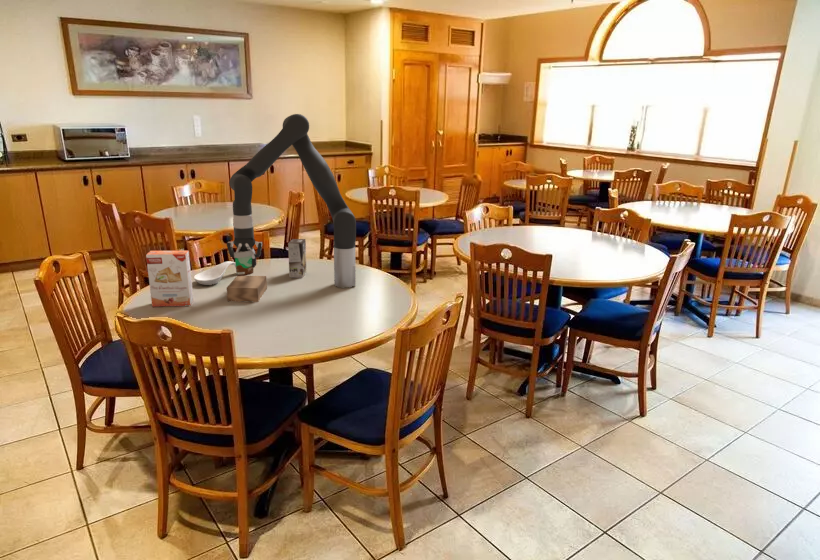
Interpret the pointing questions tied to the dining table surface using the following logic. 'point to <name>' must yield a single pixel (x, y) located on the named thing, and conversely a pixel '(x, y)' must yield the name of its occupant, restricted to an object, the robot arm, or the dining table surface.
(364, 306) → the dining table surface
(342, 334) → the dining table surface
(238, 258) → the food container
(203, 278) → the spoon rest
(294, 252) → the coffee box
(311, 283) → the dining table surface
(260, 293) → the walnut block
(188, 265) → the cracker box
